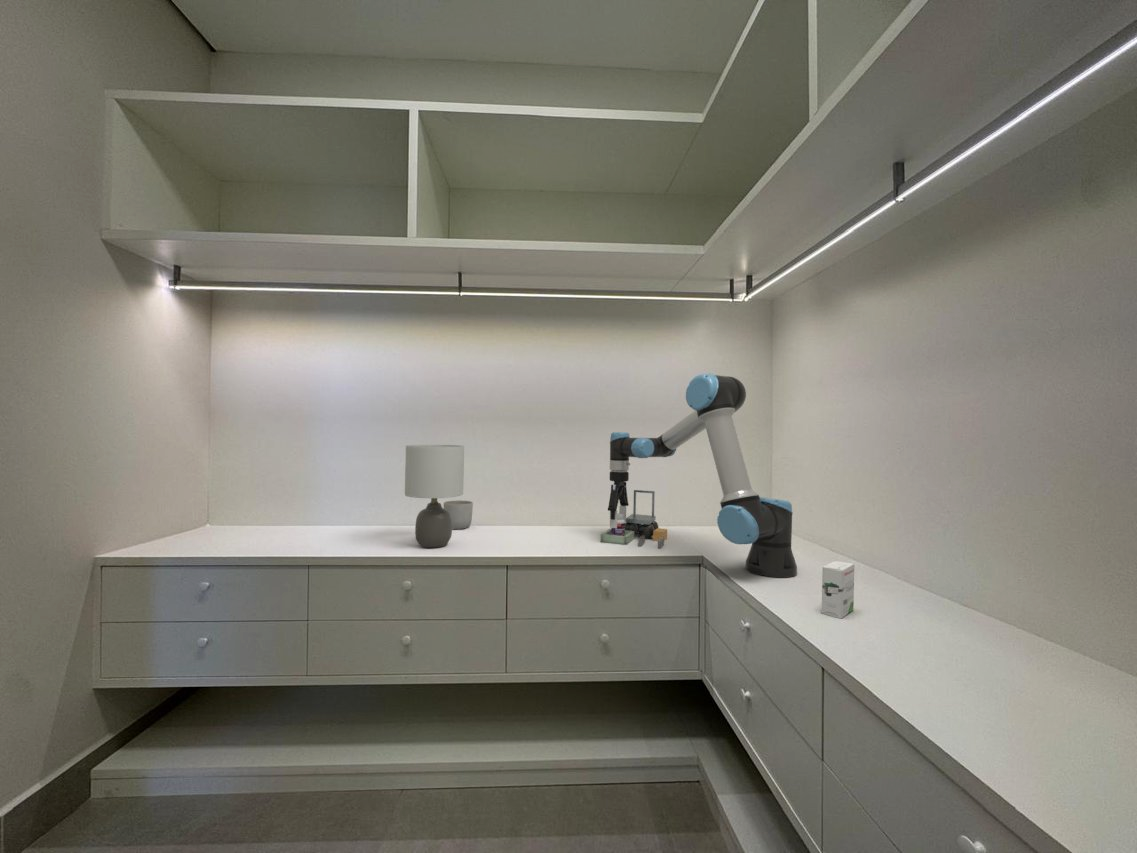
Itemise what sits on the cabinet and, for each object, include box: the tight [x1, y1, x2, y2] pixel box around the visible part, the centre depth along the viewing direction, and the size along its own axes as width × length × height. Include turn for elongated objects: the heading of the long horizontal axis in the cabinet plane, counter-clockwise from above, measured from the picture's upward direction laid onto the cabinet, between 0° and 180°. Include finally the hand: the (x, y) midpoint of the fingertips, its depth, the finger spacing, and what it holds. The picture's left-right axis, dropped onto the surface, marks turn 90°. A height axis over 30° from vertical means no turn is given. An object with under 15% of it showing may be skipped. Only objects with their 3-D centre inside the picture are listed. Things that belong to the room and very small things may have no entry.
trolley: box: [625, 489, 660, 540], centre depth 208 cm, size 12×13×18 cm
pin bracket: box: [637, 535, 665, 550], centre depth 190 cm, size 7×8×3 cm
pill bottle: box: [610, 513, 626, 536], centre depth 198 cm, size 5×5×10 cm
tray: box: [600, 528, 636, 546], centre depth 198 cm, size 12×10×3 cm
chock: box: [652, 527, 668, 542], centre depth 201 cm, size 6×4×4 cm, turn 153°
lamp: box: [404, 444, 465, 549], centre depth 183 cm, size 21×21×37 cm
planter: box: [443, 499, 474, 530], centre depth 216 cm, size 12×12×11 cm
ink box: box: [821, 560, 855, 619], centre depth 123 cm, size 9×5×12 cm, turn 133°
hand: (618, 524), depth 198 cm, fingers open, 13 cm apart
